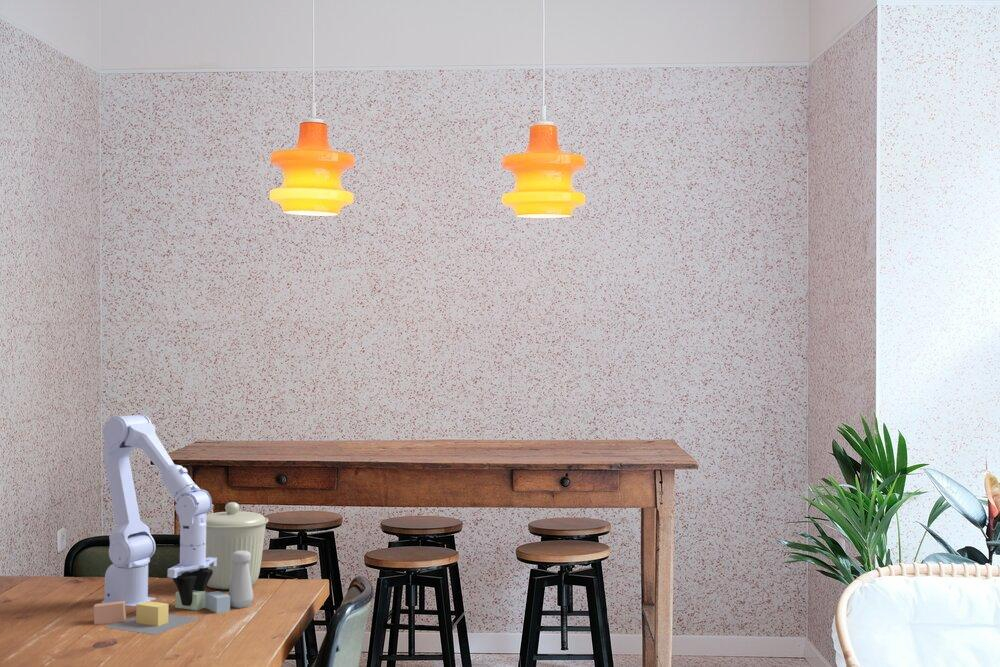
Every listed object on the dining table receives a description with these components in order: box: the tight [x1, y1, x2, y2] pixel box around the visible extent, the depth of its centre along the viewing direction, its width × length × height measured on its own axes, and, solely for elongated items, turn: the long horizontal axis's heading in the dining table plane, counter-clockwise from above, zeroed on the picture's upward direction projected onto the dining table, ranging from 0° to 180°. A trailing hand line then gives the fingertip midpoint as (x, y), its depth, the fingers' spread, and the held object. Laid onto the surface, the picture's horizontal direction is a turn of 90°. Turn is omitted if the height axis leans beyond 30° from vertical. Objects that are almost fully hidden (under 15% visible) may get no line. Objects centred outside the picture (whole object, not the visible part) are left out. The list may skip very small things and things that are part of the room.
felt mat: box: [103, 613, 200, 636], centre depth 215 cm, size 14×14×1 cm
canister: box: [206, 501, 269, 590], centre depth 253 cm, size 18×18×21 cm
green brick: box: [174, 590, 207, 611], centre depth 229 cm, size 6×3×4 cm, turn 68°
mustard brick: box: [135, 600, 170, 626], centre depth 215 cm, size 6×3×4 cm, turn 67°
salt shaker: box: [227, 551, 254, 609], centre depth 231 cm, size 6×6×13 cm
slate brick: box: [204, 590, 231, 614], centre depth 227 cm, size 6×3×4 cm, turn 41°
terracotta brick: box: [93, 601, 127, 625], centre depth 216 cm, size 6×3×4 cm, turn 104°
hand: (192, 603), depth 229 cm, fingers closed on green brick, 3 cm apart
